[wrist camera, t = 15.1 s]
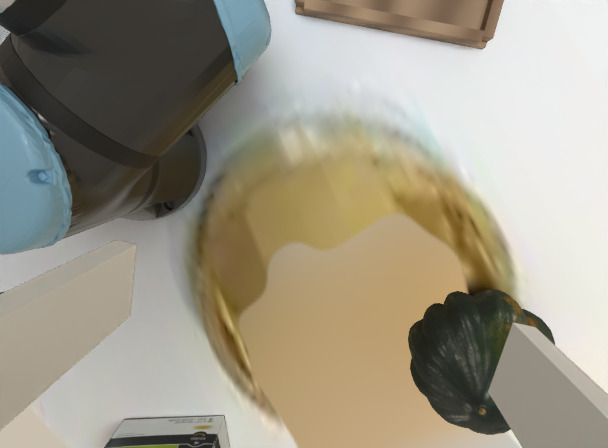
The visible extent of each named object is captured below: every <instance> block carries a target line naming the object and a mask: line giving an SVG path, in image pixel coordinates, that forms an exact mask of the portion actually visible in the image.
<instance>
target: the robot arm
mask: <svg viewBox="0 0 608 448" xmlns="http://www.w3.org/2000/svg"><path fill="white" fill-rule="evenodd" d="M270 22H271V21H270V17H269V13H268V11H267V8H266V5H265V2H264V0H0V25H1V26H2V27H4V28H5V29H7V30H8V31H10V32H11V33H10V34H9V35H8V36H7V38H6V39H5V40H4V41H3V43H2V44H1V45H0V254H14V253H19V252H23V251H27V250H31V249H36V248H44V247H47V246H51V245H53V244H55V243H56V242H57V241H60V240H61V239H64V238H67V237H69V236H72V235H74V234H77V233H80V232H82V231H85V230H87V229H90V228H93V227H95V226H98V225H100V224H103V223H106V222H108V221H111V220H113V219H116V218H125V219H130V220H139V221H144V220H154V219H158V218H162V217H165V216H167V215H169V214H171V213H174V212H176V211H178V210H179V209H181V208H182V207H184V206H185V205H186V204H187V203H188V202H190V201H191V199H192V198H193V197H194V196H195V194H196V193H197V191H198V190H199V188H200V186H201V184H202V181H203V178H204V175H205V170H206V147H205V143H204V139H203V136H202V133H201V131H200V128H199V126H198V125H197V123H196V122H197V121H198V120H199V119H200V118H201V117H202V116H203V115H204V114H205V113H206V112H207V111H208V110H209V109H210V108H211V107H212V106H213V105H214V104H215V103H216V102H217V101H218V100H219V99H220V98H221V97H222V96H223V95H224V94H225V93H226V92H227V91H228V90H229V89H230V88H231V87H232V86H233V85H234V84H235V85H238V84H239V83H240V82H241V81H242V79H243V75H244V73H245V72H246V71H247V70H248V69H249V68H250V67H251V66H252V65H253V63H254V62H255V61H256V60H257V59H258V58H259V57H260V56H261V55H262V53H263V52H264V51H265V50H266V48H267V46H268V44H269V42H270V37H271V24H270ZM136 247H137V244H132V243H128V242H123V241H118V240H114V241H112V242H110V243H108V244H106V245H104V246H101V247H99V248H97V249H95V250H93V251H91V252H89V253H87V254H84V255H82V256H80V257H78V258H76V259H74V260H72V261H70V262H67V263H65V264H63V265H61V266H59V267H57V268H55V269H53V270H50V271H48V272H46V273H44V274H42V275H40V276H38V277H36V278H33V279H31V280H29V281H27V282H25V283H23V284H21V285H19V286H16V287H14V288H12V289H10V290H8V291H6V292H1V293H0V430H1V429H2V428H4V427H5V426H6V425H7V424H8V423H9V422H10V421H12V420H13V419H14V418H15V417H16V416H17V415H18V414H19V413H21V412H22V411H23V410H24V409H25V408H26V407H27V406H29V405H30V404H31V403H32V402H33V401H34V400H35V399H36V398H38V397H39V396H40V395H41V394H42V393H43V392H44V391H46V390H47V389H48V388H49V387H50V386H51V385H52V384H53V383H55V382H56V381H57V380H58V379H59V378H60V377H61V376H63V375H64V374H65V373H66V372H67V371H68V370H69V369H70V368H72V367H73V366H74V365H75V364H76V363H77V362H78V361H80V360H81V359H82V358H83V357H84V356H85V355H86V354H87V353H89V352H90V351H91V350H92V349H93V348H94V347H95V346H97V345H98V344H99V343H100V342H101V341H102V340H103V339H104V338H106V337H107V336H108V335H109V334H110V333H111V332H112V331H114V330H115V329H116V328H117V327H118V326H119V325H120V324H121V323H123V322H124V321H125V320H126V319H127V318H128V317H129V316H130V314H131V303H132V292H133V280H134V269H135V258H136ZM488 393H489V394H490V396H491V397H492V399H493V401H494V402H495V404H496V405H497V407H498V409H499V410H500V412H501V414H502V415H503V417H504V418H505V420H506V422H507V423H508V425H509V426H510V428H511V430H512V431H513V433H514V435H515V436H516V438H517V439H518V441H519V443H520V444H521V446H522V448H608V394H607V393H606V392H605V391H604V390H603V389H602V388H601V387H600V386H598V385H597V384H596V383H595V382H594V381H593V380H592V379H591V378H590V377H589V376H588V375H587V374H585V373H584V372H583V371H582V370H581V369H580V368H579V367H578V366H577V365H576V364H575V363H574V362H572V361H571V360H570V359H569V358H568V357H567V356H566V355H565V354H564V353H563V352H562V351H561V350H560V349H558V348H557V347H556V346H555V345H554V344H553V343H552V342H551V341H550V340H549V339H548V338H547V337H545V336H544V335H543V334H542V333H541V332H540V331H539V330H538V329H537V328H536V327H532V326H527V325H522V324H518V323H512V326H511V329H510V332H509V335H508V337H507V340H506V343H505V346H504V349H503V351H502V354H501V357H500V360H499V363H498V365H497V368H496V371H495V374H494V377H493V379H492V382H491V385H490V388H489V390H488Z"/></svg>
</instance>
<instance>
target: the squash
mask: <svg viewBox="0 0 608 448" xmlns="http://www.w3.org/2000/svg"><path fill="white" fill-rule="evenodd" d="M512 323H518V324H522V325H527V326H532V327H536V328H537V329H538V330H539V331H540V332H541V333H542V334H543V335H544V336H545V337H547V338H548V339H549V340H550V341H551V342H552V343H553V344H554V345H555V342H554V338H553V336H552V332H551V330H550V329H549V328H548V326H547V325H546V324H545V323H544V322H543V320H542V319H540V318H539V317H537V316H536V315H534V314H533V313H531V312H529V311H527V310H524V309H521V307H520V306H519V305H518V303H517V302H516V301H515V300H513V299H512V298H511V297H510V296H509V295H508V294H506V293H504V292H502V291H499V290H492V289H488V290H484V291H480V292H478V293H476V294H474V295H473V296H471V295H469V294H466V293H463V292H459V291H456V292H453V293H450V294H449V295H448V296H447V297H446V300H445V302H444V305H443V304H440V303H438V304H437V303H436V304H433V305H431V306H430V307H429V308H428V309H427V310H426V312H425V314H424V317H423V319H422V320H420V321H418V322H416V323H415V324H414V325H413V326H412V327H411V328H410V331H409V337H408V342H409V348H410V351H411V355H412V359H411V366H410V370H411V374H412V377H413V380H414V382H415V384H416V386H417V387H418V389H419V390H420V392H421V393H422V394H424V395H425V396H426V397H427V399H428V400H429V402H430V404H431V406H432V408H433V409H434V410H435V411H436V412H437V413H438V414H439V415H440V416H441V417H442V418H443V419H445V420H446V421H447V422H449V423H451V424H454V425H457V426H460V427H464V428H469V429H471V430H472V431H474V432H477V433H482V434H487V435H489V434H490V435H493V434H498V433H505V432H507V431H509V430H510V429H511V428H510V426H509V425H508V423H507V422H506V420H505V418H504V417H503V415H502V414H501V412H500V410H499V409H498V407H497V405H496V404H495V402H494V401H493V399H492V397H491V396H490V394H489V393H488V390H489V388H490V385H491V382H492V379H493V377H494V374H495V371H496V368H497V365H498V363H499V360H500V357H501V354H502V351H503V349H504V346H505V343H506V340H507V337H508V335H509V332H510V329H511V326H512Z"/></svg>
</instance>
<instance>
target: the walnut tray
mask: <svg viewBox="0 0 608 448" xmlns="http://www.w3.org/2000/svg"><path fill="white" fill-rule="evenodd" d="M503 2H504V0H295V3H296V10H295V12H296V14H300V15H305V16H311V17H316V18H321V19H327V20H332V21H337V22H342V23H348V24H353V25H358V26H364V27H369V28H374V29H379V30H385V31H390V32H395V33H401V34H406V35H411V36H416V37H422V38H427V39H432V40H438V41H443V42H448V43H453V44H459V45H464V46H469V47H475V48H480V49H483V48H485V47H486V43H487V42H488V41H489V40H491V39H492V38H493V36H494V33H495V29H496V26H497V22H498V19H499V15H500V12H501V9H502V5H503Z"/></svg>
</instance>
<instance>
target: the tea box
mask: <svg viewBox="0 0 608 448" xmlns="http://www.w3.org/2000/svg"><path fill="white" fill-rule="evenodd" d="M104 448H230V447H229V441H228V436H227V429H226V424H225V419H224V416H207V417H183V418H157V419H132V420H123V421H122V423H121V424H120V426H119V427H118V428H117V430H116V431H115V433H114V434H113V436H112V437H111V438H110V440H109V442H108V443H107V444H106V446H105V447H104Z"/></svg>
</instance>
